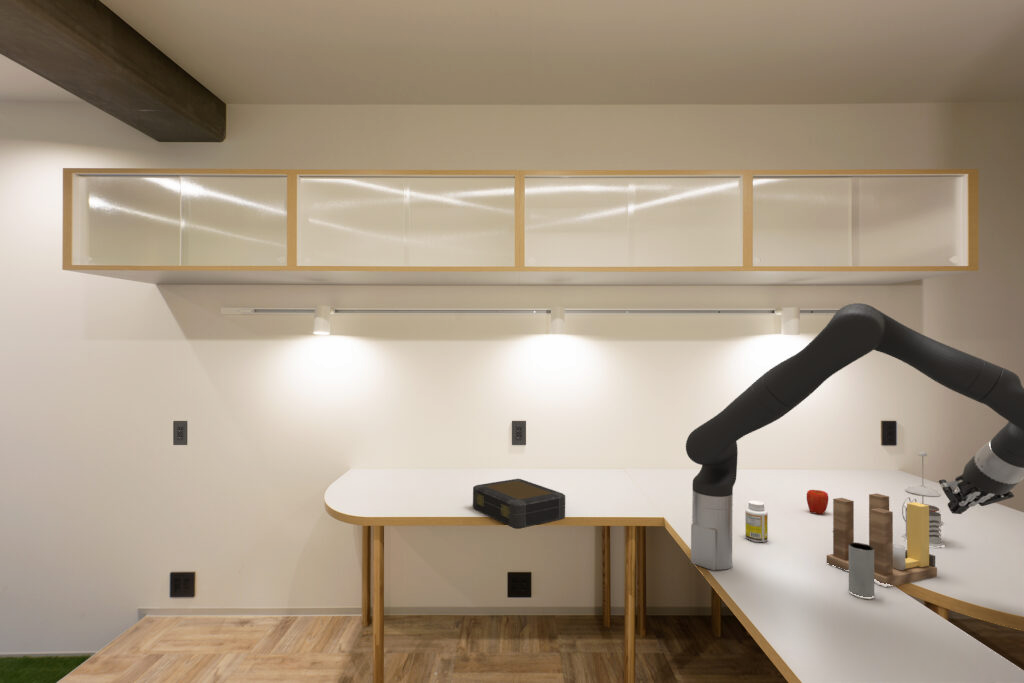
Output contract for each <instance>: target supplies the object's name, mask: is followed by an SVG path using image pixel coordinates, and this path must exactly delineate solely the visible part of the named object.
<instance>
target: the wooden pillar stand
mask: <svg viewBox="0 0 1024 683" xmlns="http://www.w3.org/2000/svg"><path fill="white" fill-rule="evenodd" d="M832 500H833V502H832V503H833V506H832V508H833V510H832V511H833V512H832V513H833V514H832V516H833V517H832V518H833V522H832V523H833V524H832V526H833V528H832V529H833V530H832V532H833V533H832V539H833V540H832V541H833V545H832V546H833V547H832V553H831V554H826V564H827V563H829V564H831V565H830V566H832V565H834V566H836V567H835V568H837V567H840V568H842V569H845V570H849V543H853V542H855V540H854V539H855V534H854V532H855V530H854V529H855V528H854V527H855V524H854V522H855V521H854V518H855V517H854V516H855V514H854V513H855V512H854V511H855V510H854V505H855V503H854V500H852V499H847V498H844V497H838V498H837V497H836V498H833V499H832ZM893 514H894V513H893V511H891V510H890V496H889V495H885V494H881V493H870V494H868V535H869V536H868V545H870V546H872V547H873V548H874V579H876V580H877V581H879V582H880V583H884V584H886V583H887V584H890V585H893V586H892V587H894V586H899V585H904V584H908V583H913V582H918V581H922V580H927V579H930V578H931V579H932V578H935V577H938V567H936V555H934V554H931V553H929V566H925V567H919V566H917V567H912V568H907V569H905V570H898V569H895V568H893V543H894V540H893V538H894V530H893V529H894V526H893V525H894V522H893V519H894V517H893V516H894V515H893ZM905 558H907V549H905ZM829 564H828V565H829ZM834 566H833V567H834Z"/></svg>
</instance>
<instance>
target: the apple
mask: <svg viewBox="0 0 1024 683" xmlns="http://www.w3.org/2000/svg"><path fill="white" fill-rule="evenodd" d="M806 503H807V507H808V510H809V511H810V512H811V513H812V514H819V515H820V514H821V515H822V514H824V513H825V512H826V510H827V509H828V504H829V493H827V492H826V491H824V490H820V489H817V490H816V489H809V490H807V491H806Z"/></svg>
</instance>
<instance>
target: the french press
mask: <svg viewBox="0 0 1024 683" xmlns="http://www.w3.org/2000/svg"><path fill="white" fill-rule="evenodd" d="M918 456H920V457H921V458H922V462H921V465H922V466H921V467H922V468H921V473H922V474H921V476H922V478H921V479H922V480H921V481H922V485H913V486H909V487H907V488H905V489H904V491H905V492H906V493H907V494H910V495H913V496H917V497H918V496H919V497H922V501H921V502H922V503H921V502H920V504H924V505H928V506H929V546H933V547H937V546H942V545H944V544H945V542H943V541H942V539H941V537H942V534H941V533H942V529H941V528H942V524H940V523H942V514H941V513H937V512H936V511H939V510H940V508H939V507H937V506H935V505H931V504H926V503H924V497H927V498H938V497H939V498H940V497H941V496H942V493H940V492H939V491H938V490H936V489H935V488H932V487H928V486H925V485H924V457H928V454H927V452H926V451H919V452H918ZM907 500H909V503H913V502H916V503H917V499H916V498H913V499H912V500H911V497H910V496H908V497H906V498H905V499H904V501H903V503H902V507H901V515H902V519H903V520H904V522H905V534H903V535H902V536H903V538H904V539H905V540H907V508H906V512H905V515H904V508H905V507H904V505H905V504H906V501H907Z"/></svg>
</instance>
